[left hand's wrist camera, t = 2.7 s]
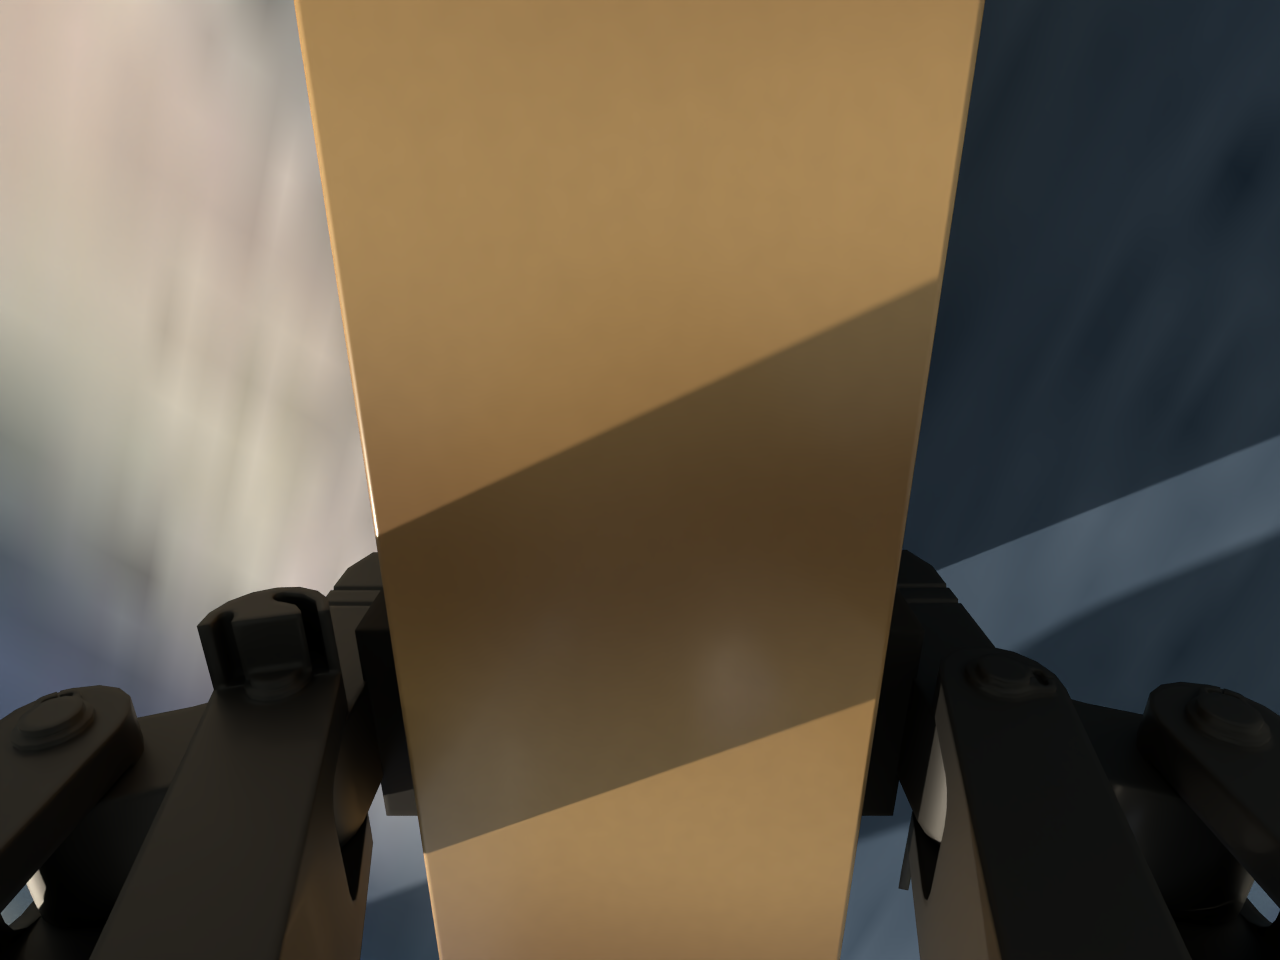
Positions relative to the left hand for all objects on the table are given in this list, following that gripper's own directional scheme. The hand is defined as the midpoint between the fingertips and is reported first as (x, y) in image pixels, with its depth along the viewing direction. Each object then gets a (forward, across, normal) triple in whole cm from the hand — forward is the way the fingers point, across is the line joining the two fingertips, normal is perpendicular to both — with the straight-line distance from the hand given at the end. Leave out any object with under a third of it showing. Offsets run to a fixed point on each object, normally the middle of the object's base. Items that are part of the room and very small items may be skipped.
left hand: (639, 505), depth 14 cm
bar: (+1, 0, -9) cm, 9 cm away
